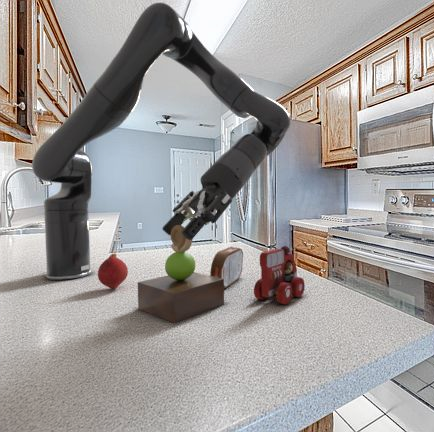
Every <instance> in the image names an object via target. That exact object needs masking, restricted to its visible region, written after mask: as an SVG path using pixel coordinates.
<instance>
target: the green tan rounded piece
mask: <svg viewBox="0 0 434 432" xmlns="http://www.w3.org/2000/svg"><path fill="white" fill-rule="evenodd" d="M193 218H194V217H190V218H189V219H188V220H189V221H191V220H192V219H193ZM184 228H185V226H183V225H176V226H174V227H173V228H172V230H171V235H170V241H171V243H172V244H171V245H170V247H171V249H172V251H174V252H173V253H171V254H170V255H169V256H168V257H167V258H166V259H165V263H164V270H165V273H166V275H167V276H169V277H171V278H172V279H174V280H185V279H187V278H189V277H190V276H191V275H192V274H193V272H195V270H196V260H195V258H194V257H193V255H192V254H190V253H189V252H187V251H188V250H190V248H191V246H192V243H193V239H194V238H193V239H192V240H188V239H186V238H185V237H184V236H183V235H182V234H181V231H182V230H183V229H184Z"/></svg>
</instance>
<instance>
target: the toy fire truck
mask: <svg viewBox="0 0 434 432" xmlns="http://www.w3.org/2000/svg"><path fill="white" fill-rule="evenodd" d="M259 266H260V269H261V270H260V274H261V275H260V278H259V279H258V280H257V281H256V282H255V284H254V287H253V295H254V297H255V298H256V299H257V300H261V301H264V300H266V299H267V298H275V299H276V301H277V302H278V304H280V305H288V304H289V303H290V302H291V300H292V297H294V298H301V297H302V296H303V294H304V292H305V288H306V287H305V286H306V285H305V280H304V278H303V277H301V276H298V269H297V265H296V262H295V257H294V254H292V253H291V249H290V247H289V246H288V245H282V246H281V247H280V248H274V249H270V250H266V251H263V252H261V253H260V254H259Z"/></svg>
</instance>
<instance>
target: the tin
mask: <svg viewBox="0 0 434 432" xmlns="http://www.w3.org/2000/svg"><path fill="white" fill-rule="evenodd" d="M243 263H244V251H243V249H242V248H240V247H236V246H235V247H233V246H229V247H227V248H224V249H222V250H218V252H216V253H215V255H214V257H213V259H212V262H211V265H210V272H209V273H210V274H209V276H213V277H218V278H222V279H224V289H227V288H228V287H230V286H231V285H233V284H234V283H236V282H237V281H238V280H239V279H240V277H241V275H242V271H243V265H244V264H243Z"/></svg>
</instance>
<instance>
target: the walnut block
mask: <svg viewBox="0 0 434 432" xmlns="http://www.w3.org/2000/svg"><path fill="white" fill-rule="evenodd" d="M223 305H225V288H224V279H222V278H218V277H213V276H210V274H209V275H208V274H204V273H200V272H195V271H194V272H193V274H192V275H191V276H190V277H189V278H187V279H185V280H174V279H172V278H171V277H169V276H168V275H164V276H159V277H155V278H151V279H146V280H142V281H138V282H137V306H138V307H137V308H138V310H140V311H143V312H145V313H148V314H150V315H153V316H155V317H157V318H161V319H163V320H166V321H169V322H171V323H173V324H175V323H178V322H181V321H183V320H186V319H189V318H191V317H194V316H196V315H199V314H202V313H205V312H207V311H210V310H213V309H215V308H218V307H220V306H223Z"/></svg>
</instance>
